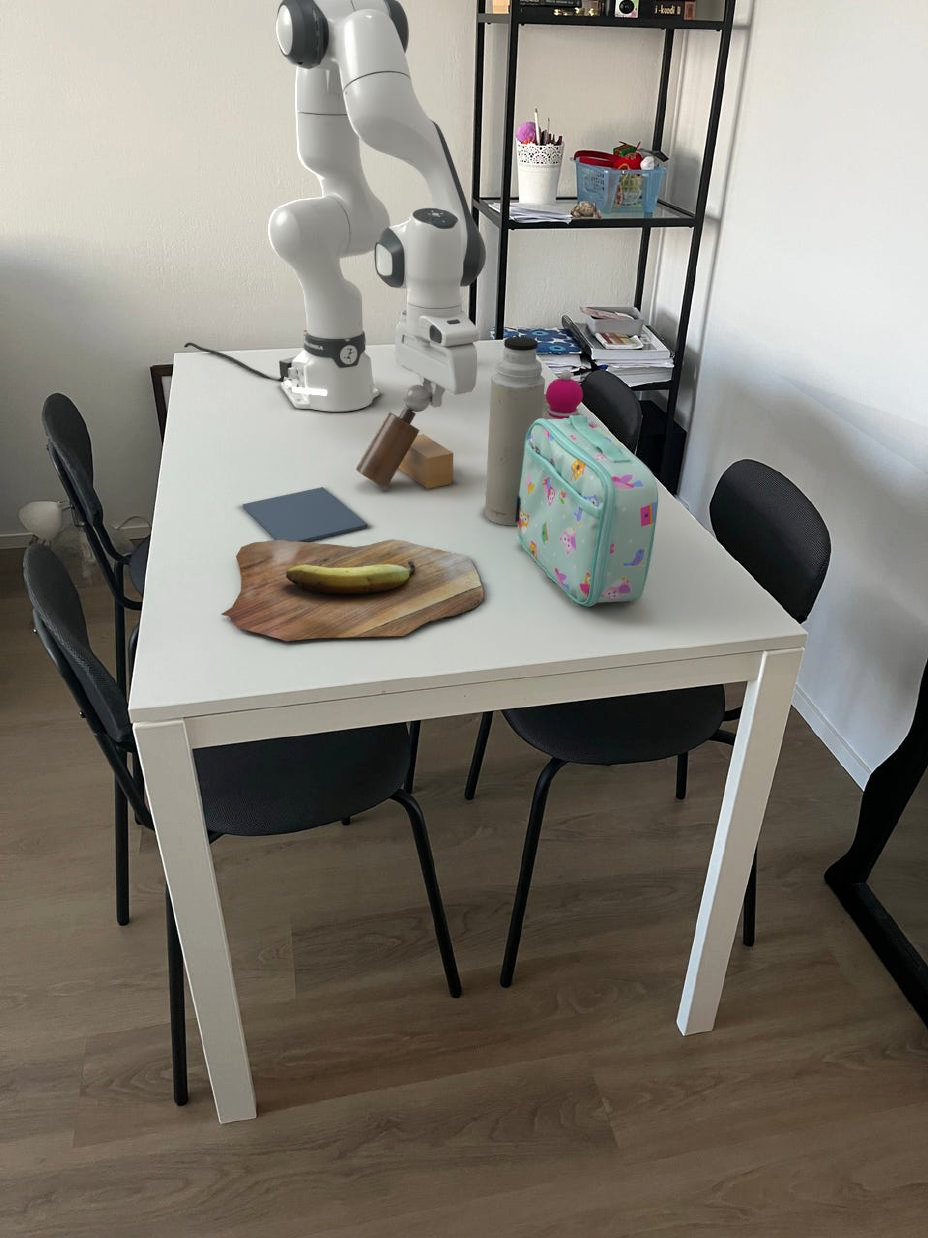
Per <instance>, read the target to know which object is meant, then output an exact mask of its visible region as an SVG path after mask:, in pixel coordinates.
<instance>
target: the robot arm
mask: <svg viewBox="0 0 928 1238" xmlns="http://www.w3.org/2000/svg"><path fill="white" fill-rule="evenodd" d="M275 26H276V36H277V37H276V38H277V43H278V46H279V50H280V52H281V54H282V56H283V57H284V58H285V59H286V61H287V62H288V63H289V64H290V65H293V66H295V67H296V74H295V89H294V90H295V97H294V98H295V99H294V100H295V124H296V125H295V127H296V143H297V144H296V145H297V156H298V158H299V161H300V163H301V164H302V166H303V167H305V168H306V170H308V171H310V172H311V173H313V174H314V175H316V177H317V179H318V181H319V183H320V187H321V192H322V196H319V197H312V198H301V199H295V200H293V201H291V202H288V203H285V204H283V205H280V206H278V207H276V208H275V209H274V210H273V211H272V212H271V215H270V217H269V220H268V227H267V228H268V229H267V233H268V240H269V241H270V245H271V248H272V249H273V251H274V252H275V254H276V255H277V257H279V258H280V259H281V260H282V261H284V262H285V263H286V264H287V265H289V266H290V268H291V270H293V272H294V273H295V276H296V277H297V279H298V281H299V284H300V286H301V290H302V292H303V294H302V295H303V298H304V299H303V301H304V308H305V319H306V329H305V330H303V332H304V334H303V336H304V338H303V347H302V348H303V350H301V351H300V353H299V354H298V355H296V356H292V357H288V358H284V359H281V360H279V361H278V364H279V366H278V367H279V376H280V377H279V378H273V377H270V376H268V375H266V374H265V373H263V372H262V371H259V370H256V369H254V368H252V367H250V366H249V365H247V364H246V363H244V362H242V361H240V360H238V359H236V358H234V357H233V356H230V355H228V354H226V353H223V352H220V351H216V350H214V349H209V348H205V347H202V346H200V345H198V344H196V343H195V342H191V341H189V342H186V343H185V344H184V345H183V348H188V347H190V346H191V347H194V348H195V349H197V350H198V351H201V352H204V353H209V354H212V355H216V356H220V357H222V358H225V359H227V360H229V361H231V362H233V363H235V364H237V365H238V366H241V367H242V368H243V369H246V370H247V371H249V372H251V373H253V374H255V375H258V376H260V377H261V378H264V379H267V380H272V381H276V382H281V385H280V388H281V390H282V391H283V392H284V394H285V395H286V397H287V398H288V399H289V401H290V402H291V404H292V405H293V406H294V408H296V409H301V410H317V411H321V412H332V413H333V412H334V413H337V412H338V413H340V412H351V411H358V410H360V409H363V408H366V407H368V406H370V405H371V404H372V403H373V401H374V399H375V398H377V397H379V395H380V393H379V389H378V388H375V387H374V379H373V377H374V376H373V368H372V358H371V357H370V356H369V355H368V354H367V353H366V352H365V351H366V348H367V347H366V346H367V345H366V343H367V339H366V332H365V330H364V325H363V324H364V323H363V322H364V321H363V318H364V317H363V295H362V293H361V290H360V289H359V287H358V286H357V285H356V284H355V283H353V282H352V281H350V280H348V279H347V278H345V277H344V275H343V272H342V269H341V262H340V261H341V259H345V258H351V257H352V258H353V257H358V256H363V255H366V254H368V253H372V252H373V251H374V267H375V272H376V275H377V276H378V277H379V278H380V279H381V280H382V281H383V282H384V283H385V284H386V285H387V286H388V287H390V288H395V289H401V290H402V289H403V290H404V289H406V290H407V296H406V299H405V301H406V302H405V304H406V305H405V306H406V307H405V309H404V310H403V311H402V312H401V314H400V317H399V322H398V323H397V325H396V329H395V339H394V359H395V361H396V364H398V365H399V366H401V367H403V368H405V369H407V370H409V371H411V372H413V373H415V374H416V375H418V376H419V382H420V385H421V386H424V387H425V388H426V389H427V390H428V391H429V393H430V398H431V399H430V404H429V406H431V407H433V408H435V409H436V408H440V407H441V406H442V404H443V395H444V394H445V392H446V391H448V392H450V393H451V394H453V395H463V394H468V393H471V392H472V391H474V389H475V387H476V384H477V376H478V375H477V374H478V373H477V372H478V350H477V347H476V345H475V343H477V342H479V339H480V332H479V331H480V330H479V328H478V327H477V326H476V325H475V324H474V322H473V321H471V319H470V318H469V317H468V315H467V314H466V312H465V311H464V310H463V297H462V294H461V287H462V288H463V287H469V286H470V285H472V283H474V281H475V280H477V278H478V277H479V276H480V274H481V273H482V270H483V269H484V267H485V264H486V259H487V251H486V245H485V241H484V238H483V236H482V234H481V232H480V230H479V228H478V225H477V224H476V222H475V220H474V218H473V216H472V213H471V211H470V208H469V205H468V202H467V199H466V196H465V193H464V191H463V187H462V184H461V181H460V178H459V175H458V172H457V169H456V166H455V163H454V161H453V157H452V155H451V151H450V149H449V147H448V143H447V140H446V138H445V136H444V134H443V132H442V130H441V128H440V126H439V125H438V124H437V123H436V122H435V121H434V120H432V119H431V118H430V117H429V116H428V115H427V113H426V112H425V109H423V107H422V105H421V103H420V102H419V100H418V97H417V96H416V93H415V89H414V87H413V83H412V77H411V73H410V68H409V64H408V60H407V57H406V56H407V55H406V53H407V50H408V46H409V38H410V29H409V20H408V17H407V14H406V12H405V10H404V8H403V6H402V4H401V3H400V2H399V1H398V0H282V1H281V3H280V4H279V6H278V8H277V14H276V25H275ZM360 141H362V142H363V143H364V144H365V145H367V146H368V147H370V148H371V149H373V150H375V151H377V152H379V153H383V154H385V155H388V156H391V157H394V158H396V159H399V160H400V161H402V162H404V163H406V164H408V165H410V166H412V167H413V168H414V169H415V170H417V172H418V173H419V174H421V176H422V177H423V179H424V180H425V183H426V186H427V189H428V192H429V194H430V198H431V200H432V204H433V206H434V207H423V208H422V207H421V208H418V209H416V210H414V211H412V213H410V215H409V217H408V220H407V221H405V222H403V223H400V224H396V225H392V226H391V220H390V215H389V211H388V210H387V207H386V206H385V204H384V203H383V202H382V201H381V199H380V198H378V197H377V196H376V195H375V193H374V192H373V190H371V187H370V185H369V183H368V181H367V178H366V176H365V172H364V169H363V165H362V159H361V149H360V148H361V147H360ZM285 378H286V380H285Z"/></svg>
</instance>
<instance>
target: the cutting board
mask: <svg viewBox="0 0 928 1238" xmlns="http://www.w3.org/2000/svg"><path fill="white" fill-rule="evenodd" d="M235 558H236V561H237V564H238V565H237V566H238V568H239V572H240V592H239V593H238V595H237V597H236V599H235V601H234V603H232V604H233V605H232V606H231V607H230V608H228V609H227V610H226V611H223V612H222V613H220V615H221V616H225V617H229V619H230V620H231V622H232V623H233V624H234V626H235V627H236V628H237V629H241V630H245V631H249V632H252V633H257V634H260V635H263V636H267V637H270V638H271V637H272V638H275V639H279V640H282V641H284V642H292V641H300V640H302V641H303V640H310V639H329V638H330V639H331V638H333V639H334V638H367V637H369V638H371V637H404V636H406V635H408V634H410V633H411V632H413V631H415V630H416V629H418V628H419V627H421V626H422V625H424V624H427V623H428V622H438V621H440V620H442V619H443V618H448V617H454V616H457V615H460V614H462V613H465V612H467V611H470V610H473V609H475V608H476V607H477V606H479V605H480V604H481V603H482V602H483V601H484V596H485V594H484V589H483V585H482V583H481V581H480V575H479V573H478V570H476V567H475V565H474V564H473V562H472V560H471V559H470V556H467V555H465V554H460V553H456V552H451V551H447V550H442V549H437V548H433V547H430V546H429V547H428V546H425V545H420V544H416V543H412V542H410V541H406V540H403V539H394V538H392V539H387V540H383V541H379V542H375V543H371V544H368V545H358V546H348V545H339V544H330V543H319V542H318V543H317V542H298V541H289V540H275V539H274V540H273V539H271V540H266V541H255V542H251V543H249V544H246V545H243V546H241V547H240V549H239V550H238V552H237V553H236V556H235Z"/></svg>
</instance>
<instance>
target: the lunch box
mask: <svg viewBox="0 0 928 1238" xmlns="http://www.w3.org/2000/svg"><path fill="white" fill-rule="evenodd" d="M658 508H659V489H658V484H657V480H656V478H655V476H654V474H653V472H652V471H651V470H650V468H649V467H648V466H647V465H646V464H645V463H644V462H643V461H642V460H641V459H640V458H638V456H636V455H635V454H633V452H631V451H630V450H629V449H628V448H627V447H626V446H624V445H623V444H622V443H620V442H619V441H618V440H617V439H616V438H614V437H613V436H612V435H611V434H609V433H608V432H607V431H606V430H604V429H603V428H601V427H600V426H599V425H598V424H596V423H595V422H593V421H592V420H589V419H588V416H587V415H582V414H581V415H579V416H570V417H569V418H563V419H548V420H546V419H537V420H536V421H535V422H534V423H533V424H532V425H531V426H530V428H529V430H528V432H527V435H526V439H525V446H524V457H523V467H522V475H521V482H520V490H519V495H518V497H517V503H516V517H515V522H517V521H518V525H517V534H518V539H519V542H520V544H521V546H522V548H523V549H524V550H525V552H526V553H527V554H528V555H529V556H530V557H531V558H532V559H533V560H534V561H535V563H536V564H537V565H538V566H539V567H540V568H541V569H542V570H543V571H544V572H545V573H546V576H547V577H548V578H549V579H551V580H552V581H553V582H554V583H555V584H556V585H557V586H558V587H559V588H560V589H561V590H562V591H563V592H564V593H566V595H567V596H568V597H569V598H570V599H571V600H572V601H573V602H574V603H576V604H578V605H581V606H585V607H589V608H590V607H592V606H595V605H596V604H598V603H599V604H601V603H618V602H636V601H637V600H639V599H640V598H641V597H642V595H643V592H644V589H645V587H646V583H647V578H648V573H649V568H650V563H651V559H652V554H653V547H654V541H655V533H656V525H657V516H658V510H659V509H658Z"/></svg>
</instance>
